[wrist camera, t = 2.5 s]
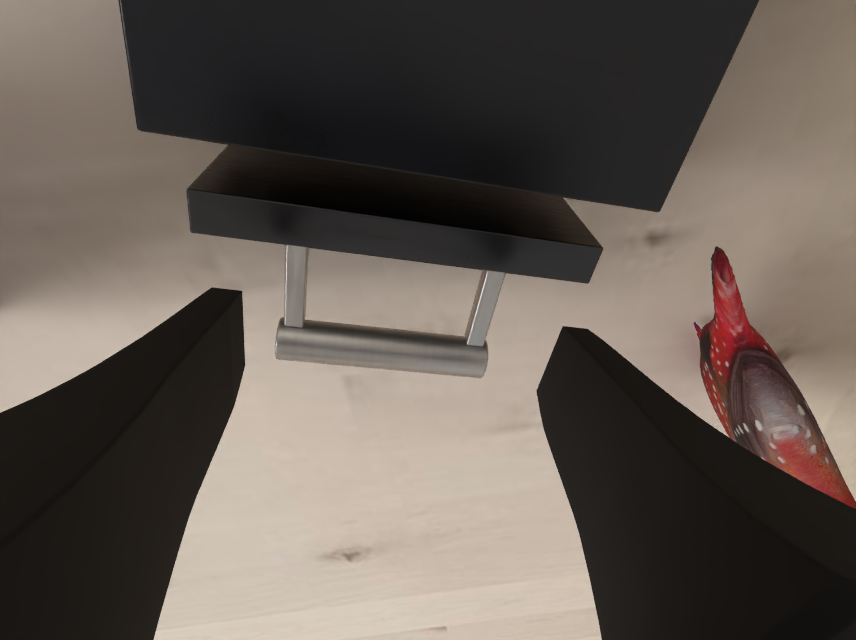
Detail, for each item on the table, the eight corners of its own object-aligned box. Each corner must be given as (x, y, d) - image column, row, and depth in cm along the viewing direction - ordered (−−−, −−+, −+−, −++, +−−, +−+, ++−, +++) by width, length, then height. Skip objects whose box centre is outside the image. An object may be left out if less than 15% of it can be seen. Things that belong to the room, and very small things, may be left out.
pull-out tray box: (510, 315, 21) (540, 399, 17) (243, 285, 20) (203, 369, 15) (797, -553, 10) (1113, -964, 6) (204, -820, 8) (-3, -1729, 4)
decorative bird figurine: (712, 437, 28) (845, 622, 20) (595, 197, 19) (748, 355, 11) (763, 415, 28) (922, 598, 19) (665, 154, 19) (883, 291, 10)
